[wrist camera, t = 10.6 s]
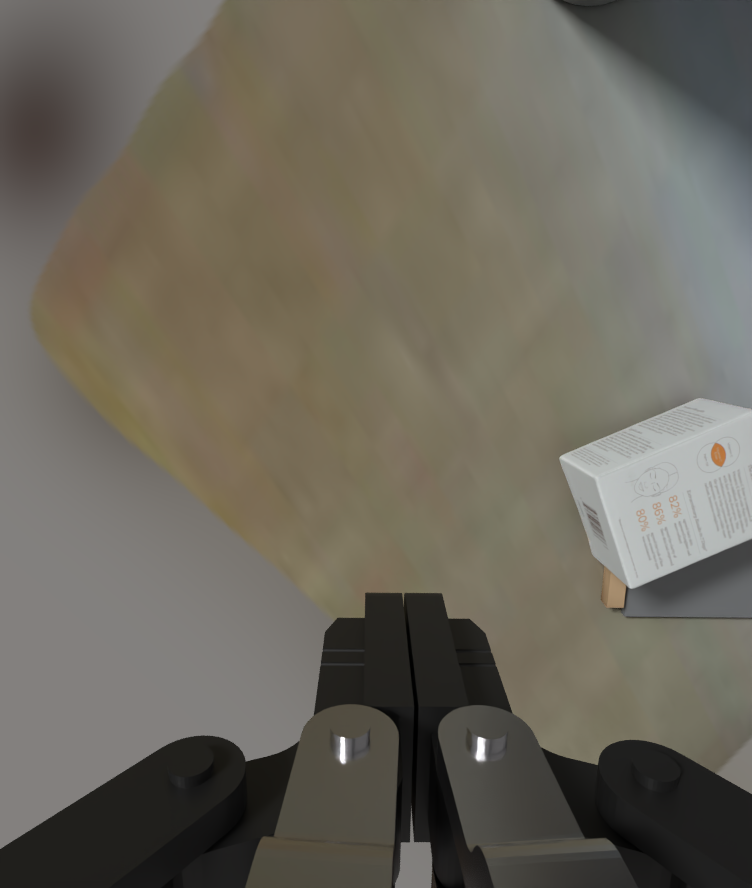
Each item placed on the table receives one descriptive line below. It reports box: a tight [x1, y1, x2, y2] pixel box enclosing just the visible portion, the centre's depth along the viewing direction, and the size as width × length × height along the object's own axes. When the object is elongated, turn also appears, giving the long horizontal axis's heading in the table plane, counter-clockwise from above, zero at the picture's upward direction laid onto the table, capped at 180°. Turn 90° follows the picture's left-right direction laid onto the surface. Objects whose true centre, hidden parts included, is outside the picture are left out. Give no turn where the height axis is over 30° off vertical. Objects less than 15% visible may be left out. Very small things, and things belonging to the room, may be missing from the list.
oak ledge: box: [601, 566, 626, 608], centre depth 44 cm, size 12×1×1 cm, turn 179°
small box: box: [560, 398, 752, 589], centre depth 40 cm, size 8×6×10 cm
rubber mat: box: [621, 539, 752, 618], centre depth 44 cm, size 14×12×1 cm
